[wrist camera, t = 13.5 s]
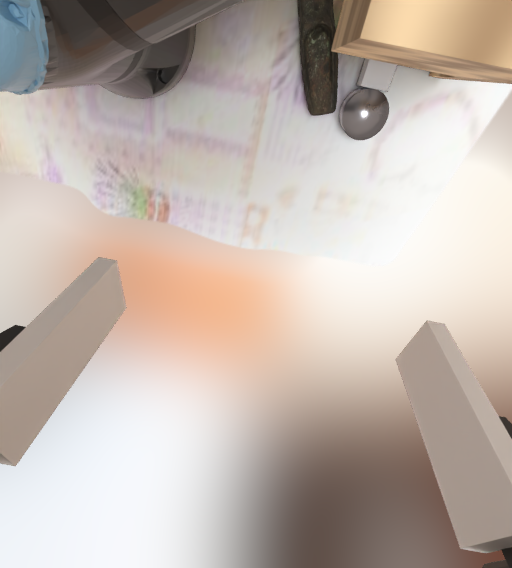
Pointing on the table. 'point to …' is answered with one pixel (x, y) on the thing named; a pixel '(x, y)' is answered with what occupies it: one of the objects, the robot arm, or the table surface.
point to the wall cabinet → (431, 36)
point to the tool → (318, 55)
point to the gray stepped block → (376, 74)
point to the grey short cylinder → (364, 113)
